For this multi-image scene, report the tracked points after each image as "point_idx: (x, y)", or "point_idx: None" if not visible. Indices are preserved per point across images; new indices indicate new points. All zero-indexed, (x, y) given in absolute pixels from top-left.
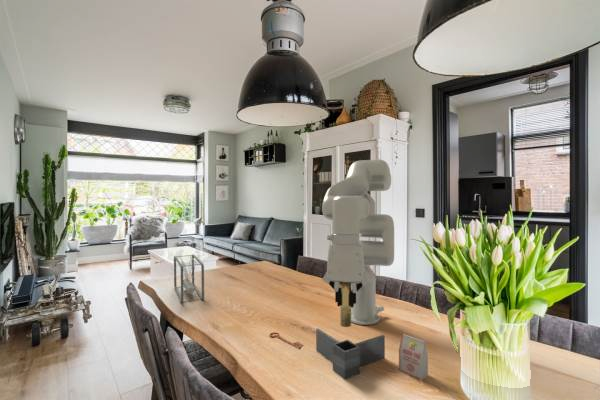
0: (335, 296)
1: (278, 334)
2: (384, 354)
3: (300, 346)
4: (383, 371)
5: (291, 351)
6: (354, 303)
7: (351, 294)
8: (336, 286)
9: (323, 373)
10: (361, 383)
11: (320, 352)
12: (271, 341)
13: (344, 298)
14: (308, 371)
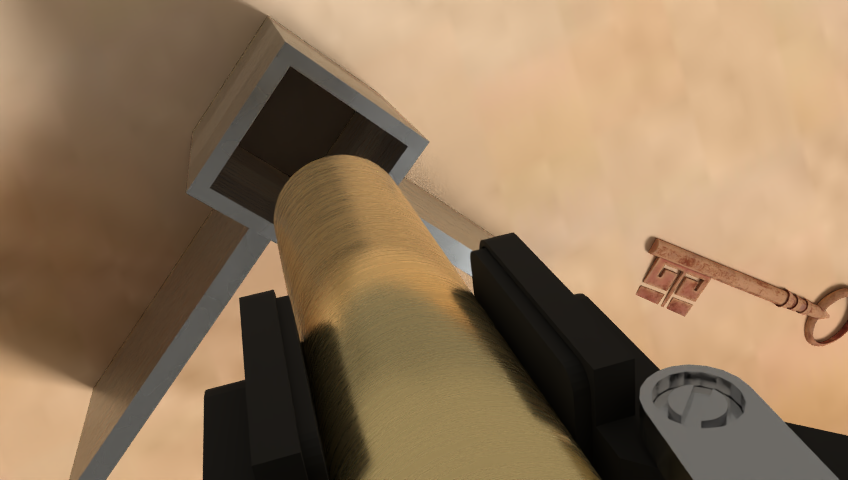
0: (624, 335)
1: (812, 330)
2: (89, 404)
3: (654, 268)
4: (45, 233)
5: (691, 192)
6: (235, 385)
7: (290, 437)
8: (746, 456)
9: (428, 30)
10: (141, 18)
11: None
12: (830, 244)
13: (431, 334)
14: (527, 12)
